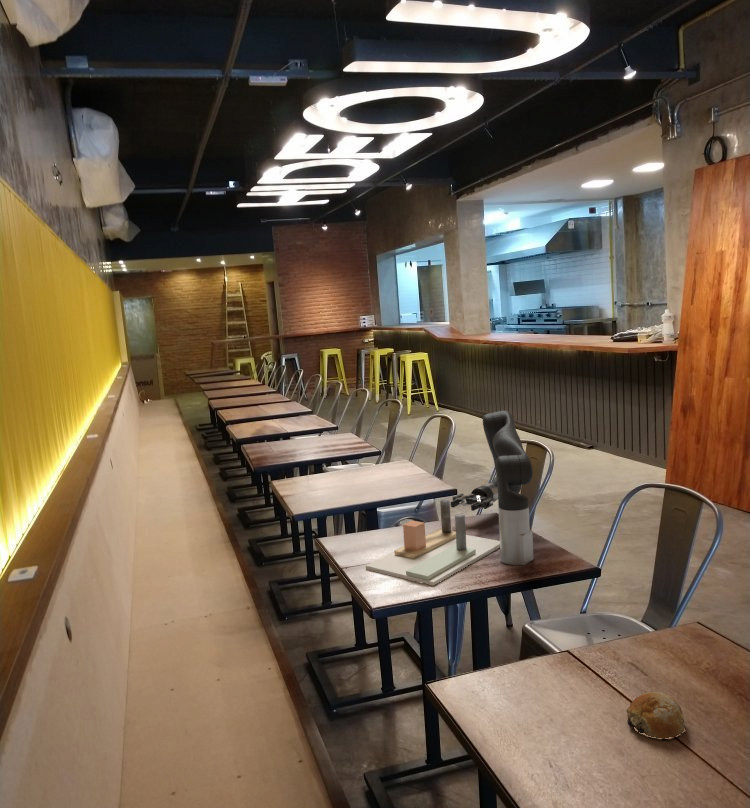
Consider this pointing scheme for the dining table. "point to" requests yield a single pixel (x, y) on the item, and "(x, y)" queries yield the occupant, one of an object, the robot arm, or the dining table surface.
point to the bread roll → (656, 715)
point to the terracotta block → (414, 535)
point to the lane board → (401, 564)
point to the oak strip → (433, 534)
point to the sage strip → (445, 555)
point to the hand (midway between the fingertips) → (461, 506)
